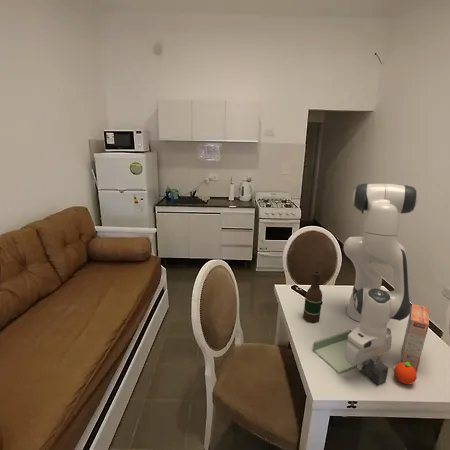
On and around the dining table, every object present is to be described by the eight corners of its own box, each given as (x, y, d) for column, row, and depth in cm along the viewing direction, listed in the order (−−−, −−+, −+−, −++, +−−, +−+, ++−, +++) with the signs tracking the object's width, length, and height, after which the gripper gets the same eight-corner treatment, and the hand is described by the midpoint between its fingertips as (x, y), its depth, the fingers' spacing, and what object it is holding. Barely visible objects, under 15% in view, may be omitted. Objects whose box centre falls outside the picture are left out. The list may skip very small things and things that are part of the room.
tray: (348, 337, 134) (350, 329, 133) (376, 358, 122) (378, 349, 121) (312, 350, 125) (313, 342, 124) (338, 373, 113) (340, 364, 112)
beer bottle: (308, 312, 153) (313, 267, 146) (322, 319, 147) (329, 272, 141) (299, 318, 147) (304, 271, 141) (314, 325, 142) (320, 277, 135)
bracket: (358, 371, 115) (361, 356, 113) (366, 367, 117) (369, 353, 115) (377, 386, 108) (380, 370, 106) (385, 382, 110) (388, 367, 108)
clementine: (395, 369, 116) (398, 353, 114) (416, 378, 112) (420, 362, 110) (390, 381, 110) (393, 365, 108) (412, 392, 106) (416, 374, 104)
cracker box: (417, 374, 114) (429, 324, 109) (399, 367, 117) (409, 319, 112) (418, 352, 126) (429, 307, 120) (401, 347, 129) (411, 302, 123)
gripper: (383, 322, 118) (377, 353, 122) (344, 336, 109) (339, 368, 113) (399, 331, 112) (392, 363, 116) (358, 346, 104) (353, 380, 108)
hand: (365, 366), depth 115 cm, fingers open, 5 cm apart
